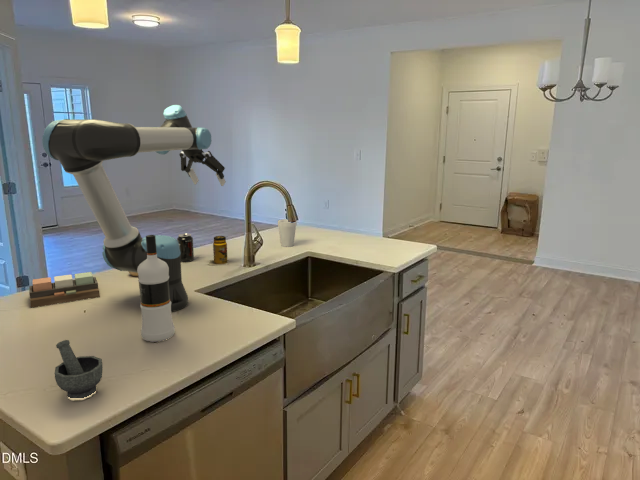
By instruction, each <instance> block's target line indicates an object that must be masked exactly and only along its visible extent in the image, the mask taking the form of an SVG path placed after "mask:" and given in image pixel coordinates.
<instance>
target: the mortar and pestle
mask: <svg viewBox="0 0 640 480" xmlns="http://www.w3.org/2000/svg"><path fill="white" fill-rule="evenodd" d="M70 343H71V342H70V340H69V339H64V340H61V341H60V342H59V341H58V343H56V344H55V348H57V349H58V350H59V354H60V356H61V359H62V362H61V363H59V364H58V365H57V366H55V367H54V380H55V383H56V385H57V387H58V388H59V389H60V390H62V391H64V392H66V397H67V396H68V397H70V398H84V397H87V396H89V395H91V394H92V393H94V392H95V391H96V387H97V385H99V383H100V382H101V380H102V378H103V372H104V371H103V359H102V358H100V357H98V356H95V355H84V356H81V355H80V356H76V354H75V352H74V349H73V348H72V347H71V345H70Z"/></svg>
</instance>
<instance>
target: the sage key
mask: <svg viewBox="0 0 640 480" xmlns="http://www.w3.org/2000/svg"><path fill="white" fill-rule="evenodd" d="M93 277H94V276H93V273H92V271H88V272H81V273H80V272H79V273H75V274H74V280H75V282H76V286H78V285H85V284H92V283H94V282H93Z"/></svg>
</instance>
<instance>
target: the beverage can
mask: <svg viewBox="0 0 640 480" xmlns="http://www.w3.org/2000/svg"><path fill="white" fill-rule="evenodd" d="M176 240H177V241H178V243H179V248H180V252H181V254H180V258H181V263H188V262H189V263H190V262H192V261H193V260H194V258H195V253H194V238H193V236H192V234H191V233H180V234H178V237H177V239H176Z"/></svg>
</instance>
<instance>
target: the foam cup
mask: <svg viewBox="0 0 640 480" xmlns="http://www.w3.org/2000/svg"><path fill="white" fill-rule="evenodd" d="M287 219H288V218H284V219H279V220H277V226H278V232H279V233H278V234H279V240H280V246H281V247H283V248H291V247H294V245H295V239H296V238H295V237H296V230H297V221H296V222H295V223H290V222H288V220H287Z"/></svg>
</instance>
